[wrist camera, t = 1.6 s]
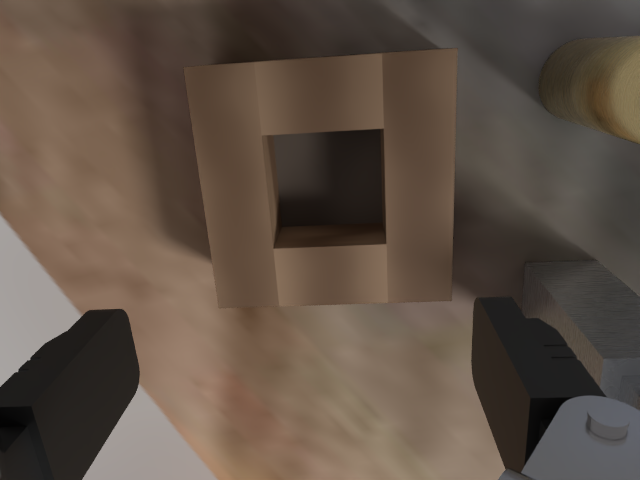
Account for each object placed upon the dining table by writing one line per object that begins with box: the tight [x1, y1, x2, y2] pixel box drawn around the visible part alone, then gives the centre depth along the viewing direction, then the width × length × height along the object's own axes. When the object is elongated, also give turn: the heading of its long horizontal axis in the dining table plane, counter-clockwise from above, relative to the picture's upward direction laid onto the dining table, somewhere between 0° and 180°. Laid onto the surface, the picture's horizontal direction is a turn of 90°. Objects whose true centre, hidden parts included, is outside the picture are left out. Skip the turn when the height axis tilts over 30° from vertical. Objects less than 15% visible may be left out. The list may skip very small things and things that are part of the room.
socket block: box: [183, 48, 458, 308], centre depth 27 cm, size 12×12×4 cm
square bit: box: [521, 260, 640, 411], centre depth 25 cm, size 4×4×12 cm
